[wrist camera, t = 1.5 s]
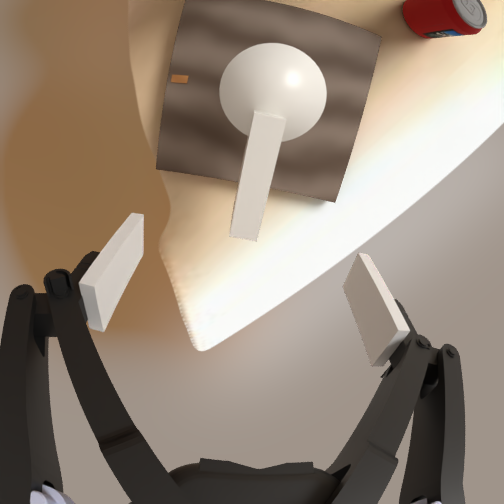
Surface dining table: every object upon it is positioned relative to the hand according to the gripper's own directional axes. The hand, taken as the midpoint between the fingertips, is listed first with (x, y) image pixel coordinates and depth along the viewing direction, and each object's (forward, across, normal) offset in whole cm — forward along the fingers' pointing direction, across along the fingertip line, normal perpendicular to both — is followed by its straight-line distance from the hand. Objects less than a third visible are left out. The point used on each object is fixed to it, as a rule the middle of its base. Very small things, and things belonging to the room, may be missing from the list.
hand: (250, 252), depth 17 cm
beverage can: (+23, +18, +28) cm, 41 cm away
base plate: (+22, 0, +9) cm, 24 cm away
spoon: (+14, 0, +5) cm, 15 cm away
